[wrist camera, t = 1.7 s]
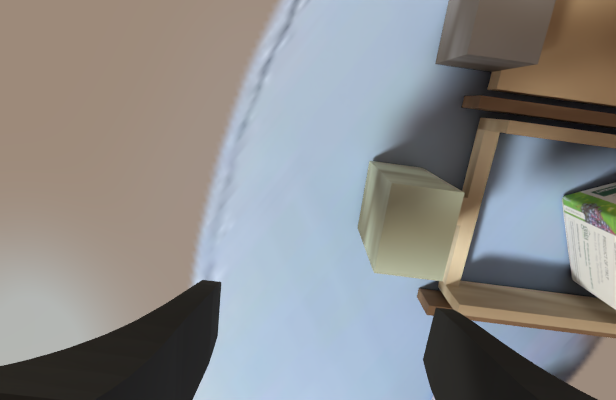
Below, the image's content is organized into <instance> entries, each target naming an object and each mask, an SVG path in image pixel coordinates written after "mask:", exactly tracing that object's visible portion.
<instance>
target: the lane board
mask: <svg viewBox="0 0 616 400" xmlns="http://www.w3.org/2000/svg"><path fill="white" fill-rule="evenodd" d="M462 108H469V109H477V110H484V111H491V112H498V113H505V114H513V115H520V116H527V117H534V118H542V119H549V120H556V121H563V122H570V123H578V124H585V125H592V126H599V127H606V128H614V129H616V114H611V113H604V112H597V111H590V110H582V109H575V108H568V107H561V106H554V105H547V104H539V103H532V102H525V101H518V100H511V99H504V98H497V97H489V96H482V95H478V96H464V100H463V104H462ZM417 298H418V299H419V301H420V303H421V305H422V307H423V309H424V311H425V312H426V314H427V315H433V316H434V313H435V309H436V308H445V309H453V308H452V307H451V305H450V304H449V302H448V301H447V299H446V298H445V296H444V295H443V294H442V292H441V291H438V290H430V289H422V288H419V290H418V295H417ZM464 316H465V315H464ZM465 317H467V318H468V319H470V320H473V321H481V322H489V323H497V324H505V325H513V326H521V327H529V328H537V329H545V330H554V331H562V332H570V333H578V334H586V335H594V336H602V337H610V338H616V334H610V333H602V332H594V331H586V330H578V329H570V328H562V327H554V326H546V325H538V324H530V323H521V322H513V321H505V320H497V319H489V318H481V317H473V316H465Z"/></svg>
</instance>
